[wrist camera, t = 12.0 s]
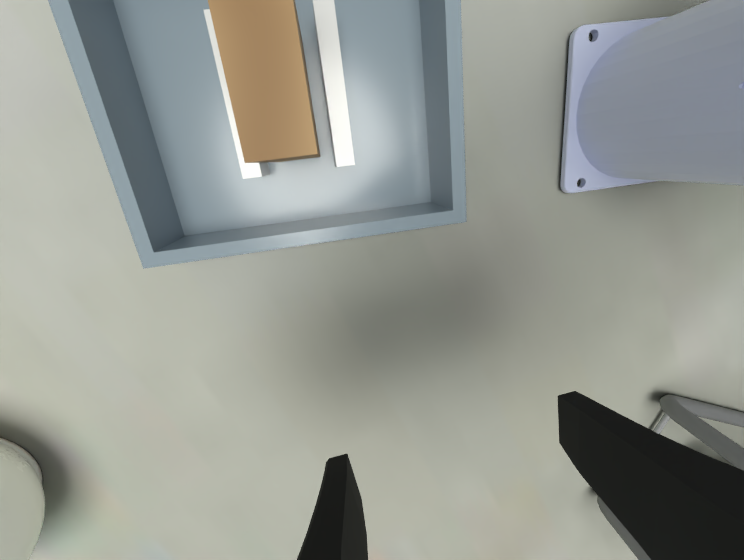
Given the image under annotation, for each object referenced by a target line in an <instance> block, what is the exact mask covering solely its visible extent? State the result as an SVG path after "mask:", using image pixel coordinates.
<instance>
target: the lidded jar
mask: <svg viewBox="0 0 744 560" xmlns="http://www.w3.org/2000/svg"><path fill="white" fill-rule="evenodd" d="M42 482H43V476H42V471H41V469H40V466H39V464H38V463H37V461H36V460H35V459H34V458H33V457H32V455H31V454H30V453H28V452H27V451H26V450H25V449H23V448H22V447H20V446H19V445H17V444H15V443H13V442H11V441H9V440H6V439H3V438H0V560H29V559H30V557H31V555H32V553H33V551H34V549H35V546H36V544H37V542H38V539H39V536H40V532H41V529H42V525H43V522H44V515H45V497H44V492H43V487H42Z"/></svg>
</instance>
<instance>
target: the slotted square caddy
mask: <svg viewBox="0 0 744 560" xmlns="http://www.w3.org/2000/svg"><path fill="white" fill-rule="evenodd" d="M48 1H49V4H50V7H51V10H52V13H53V16H54V18H55V21H56V24H57V27H58V30H59V32H60V35H61V38H62V41H63V44H64V46H65V49H66V52H67V55H68V58H69V61H70V63H71V66H72V69H73V72H74V75H75V77H76V80H77V83H78V86H79V89H80V91H81V94H82V97H83V100H84V103H85V106H86V108H87V111H88V114H89V117H90V120H91V122H92V125H93V128H94V131H95V134H96V136H97V139H98V142H99V145H100V148H101V150H102V153H103V156H104V159H105V162H106V165H107V167H108V170H109V173H110V176H111V179H112V181H113V184H114V187H115V190H116V193H117V195H118V198H119V201H120V204H121V207H122V210H123V212H124V215H125V218H126V221H127V224H128V226H129V229H130V232H131V235H132V238H133V240H134V243H135V246H136V249H137V252H138V254H139V257H140V260H141V263H142V266H143V269H144V268H151V267H158V266H164V265H171V264H178V263H185V262H192V261H199V260H206V259H213V258H220V257H227V256H234V255H241V254H248V253H255V252H261V251H268V250H275V249H282V248H289V247H296V246H303V245H310V244H317V243H324V242H331V241H338V240H345V239H352V238H358V237H365V236H372V235H379V234H386V233H393V232H400V231H407V230H414V229H421V228H428V227H435V226H442V225H449V224H455V223H462V222H467V220H466V182H465V144H464V105H463V67H462V29H461V0H295V4H296V9H297V15H298V20H299V26H300V31H301V37H302V43H303V49H304V55H305V62H306V68H307V74H308V81H309V87H310V93H311V100H312V106H313V112H314V119H315V125H316V131H317V138H318V144H319V150H320V157H316V158H308V159H300V160H292V161H284V162H261V163H245V162H244V157H243V153H242V149H241V144H240V140H239V136H238V131H237V127H236V122H235V118H234V114H233V109H232V105H231V100H230V96H229V92H228V87H227V83H226V79H225V74H224V70H223V65H222V61H221V57H220V52H219V48H218V44H217V39H216V35H215V30H214V26H213V22H212V17H211V13H210V8H209V4H208V0H48Z"/></svg>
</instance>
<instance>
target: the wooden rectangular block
mask: <svg viewBox="0 0 744 560" xmlns="http://www.w3.org/2000/svg"><path fill="white" fill-rule="evenodd" d="M208 4H209V8H210V13H211V17H212V22H213V26H214V30H215V35H216V39H217V44H218V48H219V52H220V57H221V61H222V65H223V70H224V74H225V79H226V83H227V87H228V92H229V96H230V100H231V105H232V109H233V114H234V118H235V122H236V127H237V131H238V136H239V140H240V144H241V149H242V153H243V157H244V162H245V163H261V162H284V161H292V160H300V159H308V158H316V157H320V150H319V144H318V138H317V131H316V125H315V119H314V112H313V106H312V100H311V93H310V87H309V81H308V74H307V68H306V62H305V55H304V49H303V43H302V37H301V31H300V26H299V20H298V15H297V9H296V4H295V0H208Z"/></svg>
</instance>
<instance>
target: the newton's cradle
mask: <svg viewBox="0 0 744 560" xmlns="http://www.w3.org/2000/svg"><path fill="white" fill-rule="evenodd" d="M659 402H660V406H661V408H662V410H663V411H664V412H665V414H664V415H663V417H662V418H661V420H660V421H659V423H658V424H657V426H656V427H655V429H654V430H653V431H654V432H656V433H658V434H660V432H661V431H662V429H663V428H664V426H665V425H666V423H667V422H668V420H669V419H670V418H671V419H673V420H674V421H675V422H677V423H678V424H679V425H681V426H682V427H683V428H685V429H686V430H687V431H689V432H690V433H691V434H693V435H694V436H695V437H697V438H698V439H699V440H701V441H702V442H703V443H705V444H706V445H707V446H709V447H710V448H712V449H713V450H714V451H716V452H717V453H718V454H720V455H721V456H722V457H724V458H725V459H726V460H728V461H729V462H730V463H732V464H733V465H734V466H736V467H737V468H739V469H741V470H744V448H742V447H741V446H739V445H738V444H737V443H735V442H734V441H732V440H731V439H729V438H728V437H726V436H725V435H723V434H722V433H720V432H719V431H718V430H716V429H715V428H713V427H712V426H710V425H709V424H707V423H706V422H704V421H703V420H702V419H700V418H699V417H703V418H707V419H711V420H715V421H719V422H724V423H728V424H732V425H736V426H740V427H744V413H743V412H739V411H735V410H731V409H727V408H724V407H720V406H716V405H712V404H708V403H704V402H700V401H696V400H692V399H688V398H684V397H680V396H676V395H665V396H663V397H662V398H661V399H660V401H659ZM697 416H698V417H697ZM597 501H598V504H599V507H600V510H601V511H602V513H603V514H604V516H605V517H606V519H607V520H608V521H609V523H610V524H611V525H612V526H613V528H614V529H615V530H616V532H617V533H618V534H619V535H620V537H621V538H622V539H623V540H624V542H625V543H626V544H627V545H628V547H629V548H630V549H631V551H632V552H633V553H634V554H635V556H636V557H637V558H638V559H639V560H651V559H650V558H649V556H648V555H647V554H646V553H645V551H644V550H643V549H642V547H641V546H640V545H639V544H638V542H637V541H636V540H635V539H634V538H633V536H632V535H631V534H630V533H629V532H628V530H627V529H626V528H625V527H624V526H623V525H622V523H621V522H620V521H619V520H618V519H617V517H616V516H615V515H614V514H613V513H612V511H611V510H610V509H609V508H608V507H607V505H606V504H605V503H604V502H603V501H602V499H601V498H600V497H599V496H598V499H597Z"/></svg>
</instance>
